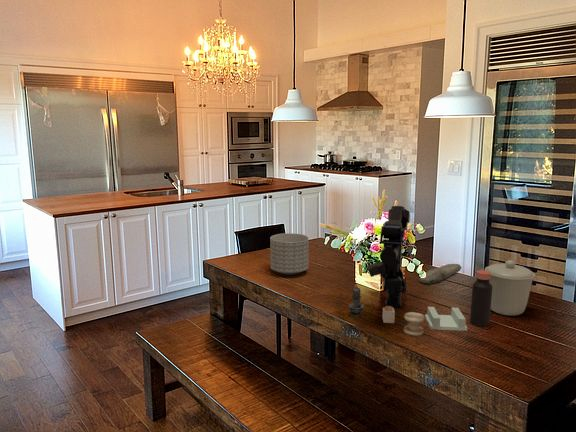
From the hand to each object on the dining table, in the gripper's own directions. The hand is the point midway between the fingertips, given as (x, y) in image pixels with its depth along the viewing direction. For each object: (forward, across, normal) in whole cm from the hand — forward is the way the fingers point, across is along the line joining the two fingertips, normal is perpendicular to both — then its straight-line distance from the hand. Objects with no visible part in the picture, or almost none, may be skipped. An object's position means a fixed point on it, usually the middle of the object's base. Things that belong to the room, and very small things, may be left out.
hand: (389, 296), depth 180 cm
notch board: (+10, +1, +21) cm, 23 cm away
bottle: (+10, -1, +34) cm, 35 cm away
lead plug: (+10, 0, 0) cm, 10 cm away
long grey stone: (+11, -57, +32) cm, 66 cm away
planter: (+10, -55, -43) cm, 70 cm away
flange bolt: (+10, -5, -12) cm, 16 cm away
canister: (+10, -14, +48) cm, 51 cm away
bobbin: (+10, +9, +8) cm, 15 cm away
